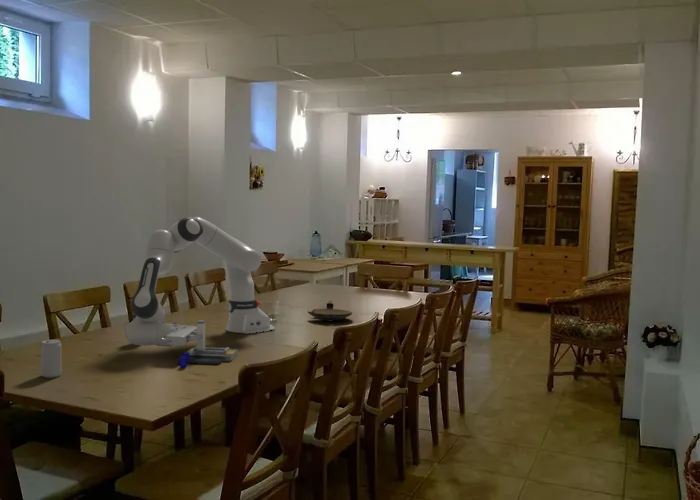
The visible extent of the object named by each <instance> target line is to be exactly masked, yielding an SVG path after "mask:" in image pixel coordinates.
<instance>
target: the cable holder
mask: <svg viewBox="0 0 700 500" xmlns="http://www.w3.org/2000/svg"><path fill="white" fill-rule="evenodd" d="M188 363H189V352H187V351H186V352H185V351H183V354H182V356H181V355H180V356H179V357H178V361H177V365H178V366H179V367H180V369H185V368H184V367H186V368H188V366H187V365H189V364H190V363H189V364H188Z"/></svg>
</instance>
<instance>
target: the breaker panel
mask: <svg viewBox="0 0 700 500" xmlns="http://www.w3.org/2000/svg"><path fill="white" fill-rule="evenodd" d="M226 347H227V348H206V347H205V350H197V345H196V346H195V347H191V348H190V349H189V350H187V351H186V352H189V360H192V359H212V360H221V361H222V362H225V361H231V360H232V359H233V358H234V357H237V356H238V350H239V349H238V348H231V347H230V348H231V349H230V348H229V346H226ZM234 359H235V358H234ZM234 359H233V360H234ZM233 360H232V361H233ZM232 361H231V362H232Z"/></svg>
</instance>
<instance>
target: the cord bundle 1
mask: <svg viewBox="0 0 700 500" xmlns="http://www.w3.org/2000/svg"><path fill="white" fill-rule="evenodd" d="M205 347H206V348H227V347H229V346H206V345H205ZM229 348H230V349H232V348H231V347H229Z"/></svg>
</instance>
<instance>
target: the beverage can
mask: <svg viewBox="0 0 700 500" xmlns="http://www.w3.org/2000/svg"><path fill="white" fill-rule="evenodd" d="M41 343H42V344H41V345H40V375H41V376H42V377H43V378H47V379H51V378H52V379H53V378H57V377H60V375H61V374H62V373H63V371H62V368H63V365H62V361H63V359H62V357H63V356H62V355H63V353H62V352H63V351H62V348H63V347H62V343H61V340H60V339H46V340H42V341H41Z"/></svg>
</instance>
